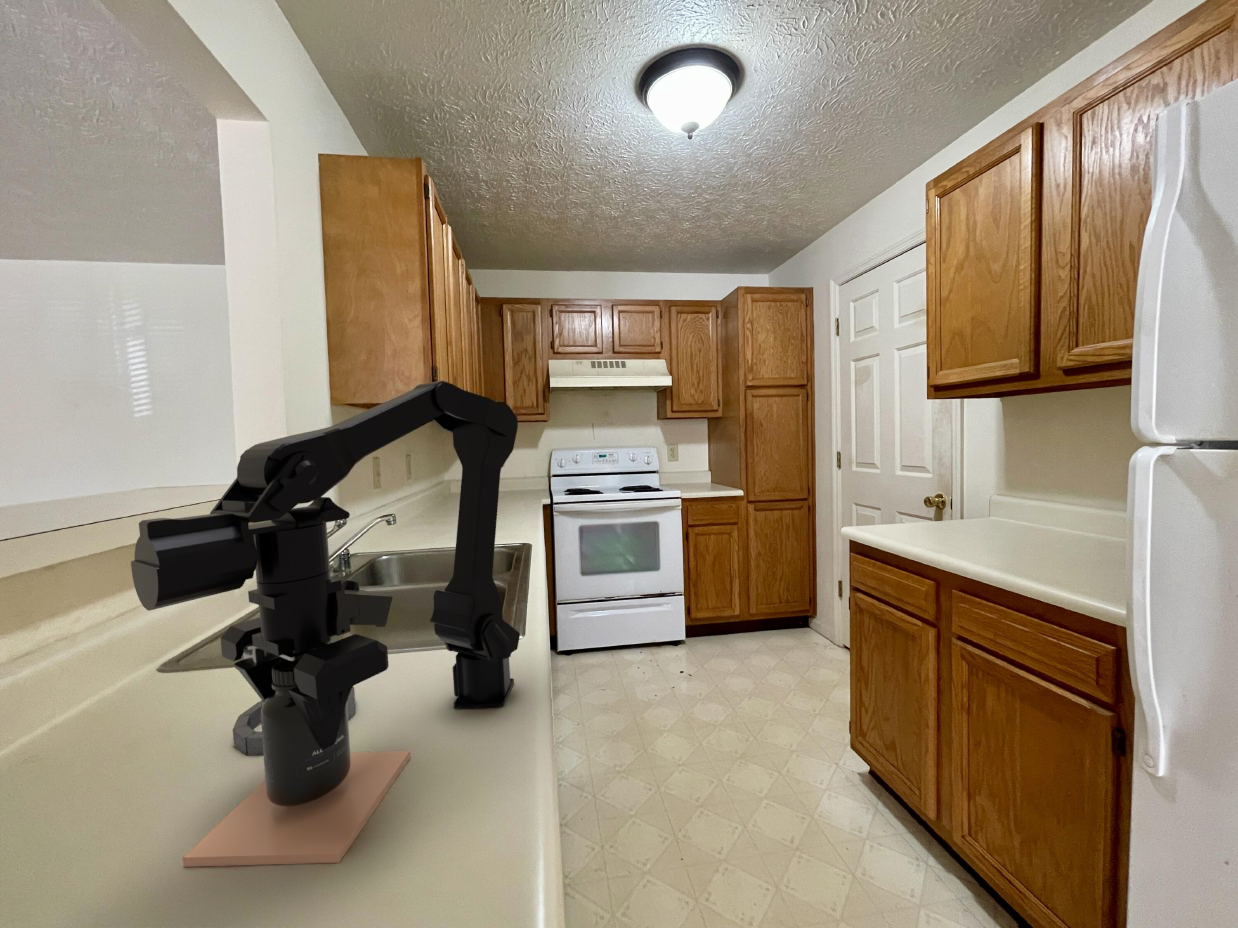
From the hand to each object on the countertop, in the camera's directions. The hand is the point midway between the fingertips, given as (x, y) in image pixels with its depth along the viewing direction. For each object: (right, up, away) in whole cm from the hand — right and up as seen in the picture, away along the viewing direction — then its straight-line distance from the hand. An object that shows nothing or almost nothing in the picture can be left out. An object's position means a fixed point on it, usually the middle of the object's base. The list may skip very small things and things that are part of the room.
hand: (308, 736), depth 46 cm
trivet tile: (0, -7, 0) cm, 7 cm away
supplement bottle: (0, -5, 0) cm, 5 cm away
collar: (-10, -7, +14) cm, 19 cm away
